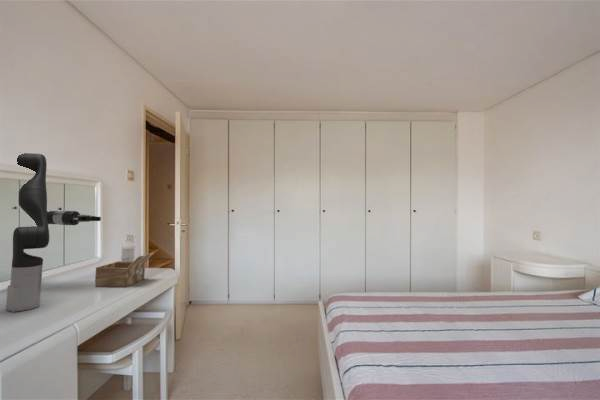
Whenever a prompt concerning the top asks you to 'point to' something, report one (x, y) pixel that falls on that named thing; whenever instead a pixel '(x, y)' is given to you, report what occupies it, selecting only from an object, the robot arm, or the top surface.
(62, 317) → the top surface
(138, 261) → the near flap
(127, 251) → the water bottle
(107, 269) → the wooden box
